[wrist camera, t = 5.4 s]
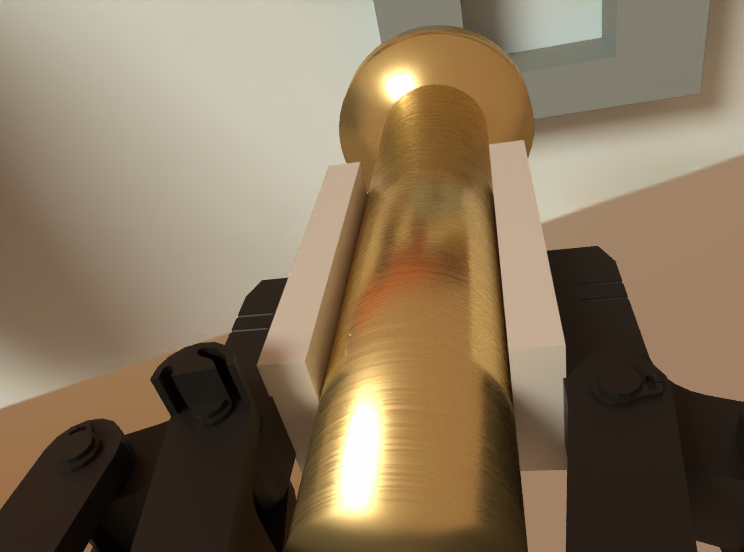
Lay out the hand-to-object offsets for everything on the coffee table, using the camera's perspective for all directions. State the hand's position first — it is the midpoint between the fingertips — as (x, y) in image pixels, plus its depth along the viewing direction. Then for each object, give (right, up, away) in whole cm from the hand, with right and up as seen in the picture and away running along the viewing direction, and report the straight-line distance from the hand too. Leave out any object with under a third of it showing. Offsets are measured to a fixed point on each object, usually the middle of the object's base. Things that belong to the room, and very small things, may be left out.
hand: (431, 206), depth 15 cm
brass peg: (+1, +3, +4) cm, 5 cm away
